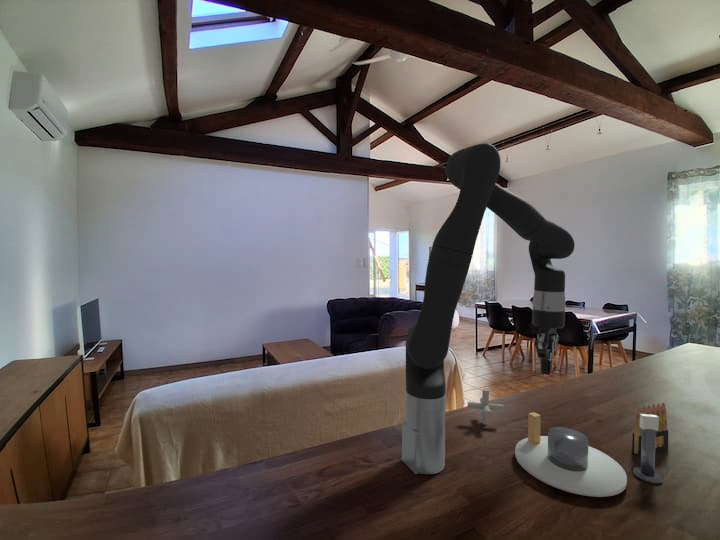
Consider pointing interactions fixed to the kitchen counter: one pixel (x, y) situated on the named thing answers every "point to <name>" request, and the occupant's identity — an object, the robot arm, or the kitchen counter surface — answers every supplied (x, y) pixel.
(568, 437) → the cover
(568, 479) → the platter
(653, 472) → the stand
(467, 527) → the kitchen counter surface
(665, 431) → the ammunition clip
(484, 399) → the pipe connector
